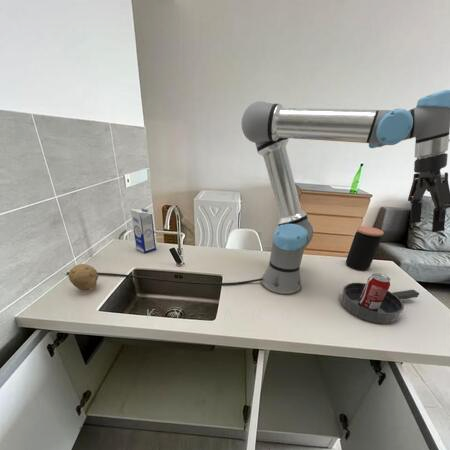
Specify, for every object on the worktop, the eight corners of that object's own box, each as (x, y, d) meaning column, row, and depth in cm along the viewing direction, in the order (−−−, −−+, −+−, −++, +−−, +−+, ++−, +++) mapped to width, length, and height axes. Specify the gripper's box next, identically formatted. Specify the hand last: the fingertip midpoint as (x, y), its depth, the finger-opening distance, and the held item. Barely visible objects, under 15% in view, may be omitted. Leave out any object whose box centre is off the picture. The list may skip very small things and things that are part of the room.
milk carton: (136, 249, 121) (130, 208, 110) (147, 245, 125) (143, 206, 115) (144, 253, 117) (139, 211, 107) (156, 249, 121) (152, 209, 111)
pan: (366, 328, 78) (371, 317, 75) (328, 295, 94) (332, 285, 91) (411, 320, 83) (417, 309, 80) (368, 289, 99) (372, 280, 96)
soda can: (381, 312, 85) (395, 283, 78) (360, 309, 86) (373, 280, 79) (375, 301, 90) (388, 273, 84) (356, 299, 91) (367, 271, 85)
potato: (81, 282, 93) (74, 258, 88) (105, 283, 93) (99, 259, 88) (68, 295, 85) (60, 270, 80) (94, 296, 85) (87, 271, 80)
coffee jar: (374, 270, 114) (389, 233, 105) (355, 272, 111) (369, 234, 102) (357, 260, 123) (370, 225, 113) (340, 262, 120) (352, 226, 111)
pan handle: (392, 301, 88) (394, 296, 87) (386, 297, 90) (388, 293, 89) (417, 297, 91) (419, 293, 90) (411, 293, 93) (413, 289, 93)
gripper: (477, 148, 59) (465, 233, 67) (423, 154, 82) (419, 217, 89) (440, 157, 62) (433, 238, 69) (397, 160, 84) (396, 221, 92)
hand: (425, 226), depth 79 cm, fingers open, 13 cm apart
